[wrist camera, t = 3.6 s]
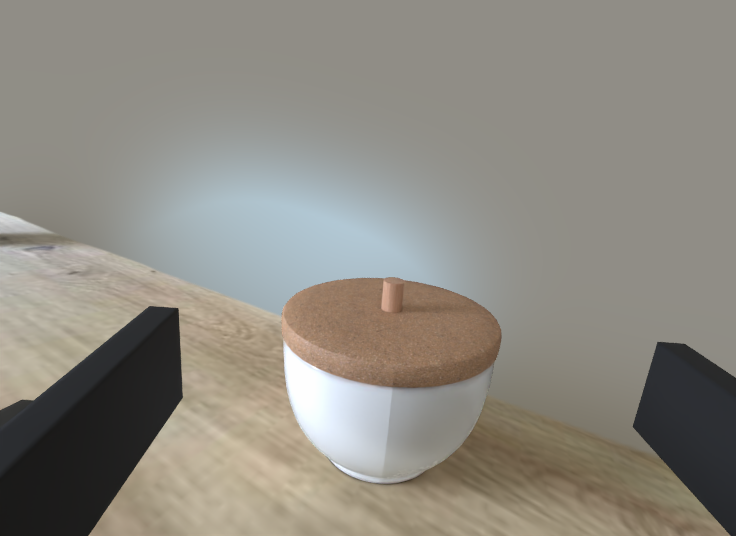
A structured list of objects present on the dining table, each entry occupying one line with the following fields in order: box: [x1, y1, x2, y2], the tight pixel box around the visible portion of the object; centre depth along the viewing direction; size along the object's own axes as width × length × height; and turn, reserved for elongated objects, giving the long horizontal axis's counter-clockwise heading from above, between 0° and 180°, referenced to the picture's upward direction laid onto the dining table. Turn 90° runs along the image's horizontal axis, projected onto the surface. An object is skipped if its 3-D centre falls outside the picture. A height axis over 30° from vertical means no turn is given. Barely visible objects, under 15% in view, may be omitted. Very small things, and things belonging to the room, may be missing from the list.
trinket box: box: [282, 277, 501, 484], centre depth 23 cm, size 11×11×9 cm
